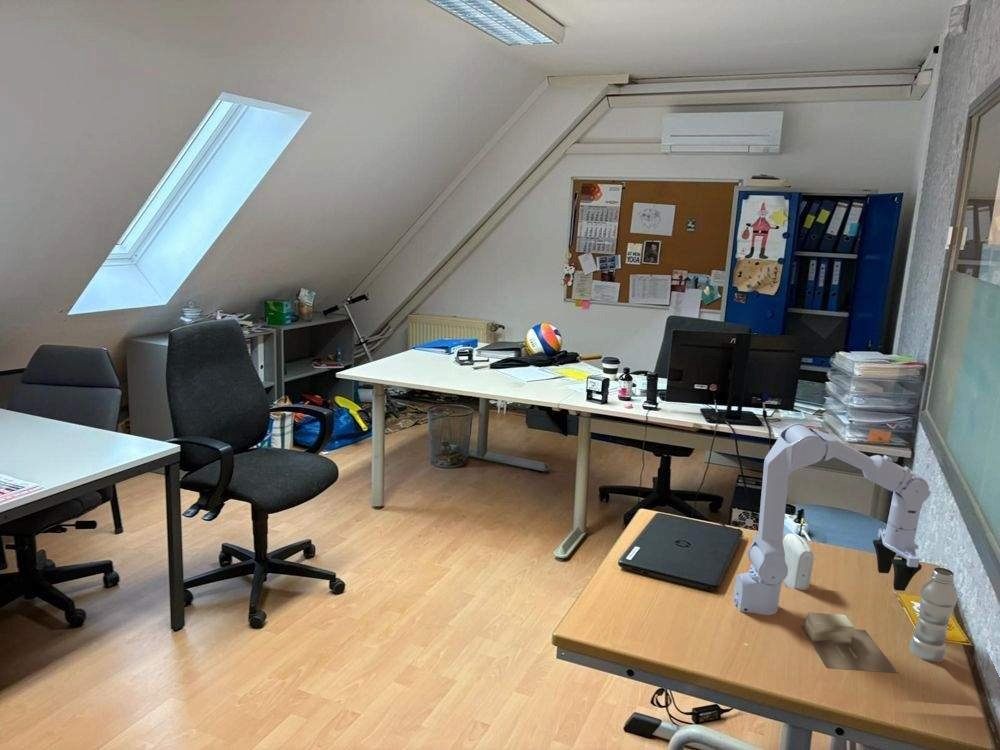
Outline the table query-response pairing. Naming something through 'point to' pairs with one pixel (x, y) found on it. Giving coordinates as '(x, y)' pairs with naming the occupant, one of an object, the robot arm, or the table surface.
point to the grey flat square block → (853, 654)
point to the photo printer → (797, 562)
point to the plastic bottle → (934, 616)
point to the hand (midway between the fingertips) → (891, 581)
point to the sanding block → (829, 627)
